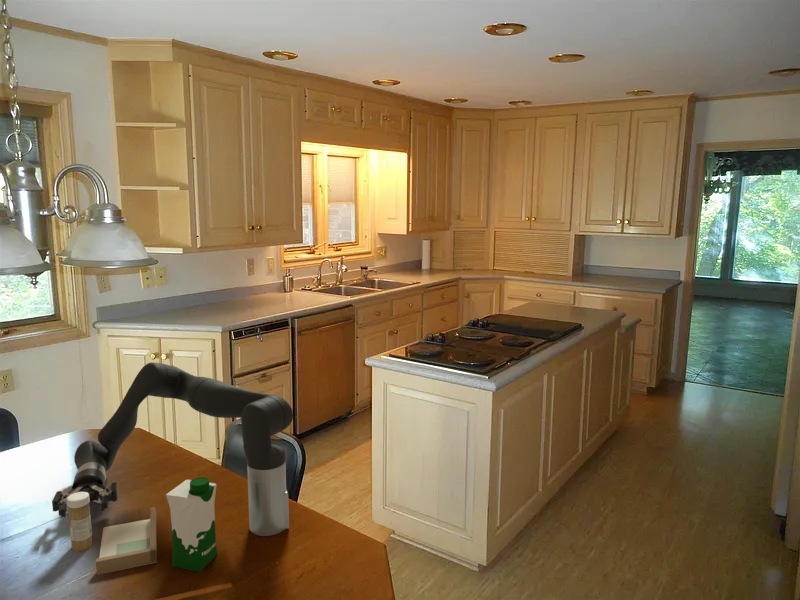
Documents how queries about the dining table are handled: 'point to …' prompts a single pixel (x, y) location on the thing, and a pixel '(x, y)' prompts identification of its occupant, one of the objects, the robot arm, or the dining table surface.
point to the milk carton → (193, 524)
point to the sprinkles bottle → (80, 521)
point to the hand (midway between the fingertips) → (83, 510)
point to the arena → (122, 535)
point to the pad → (133, 546)
